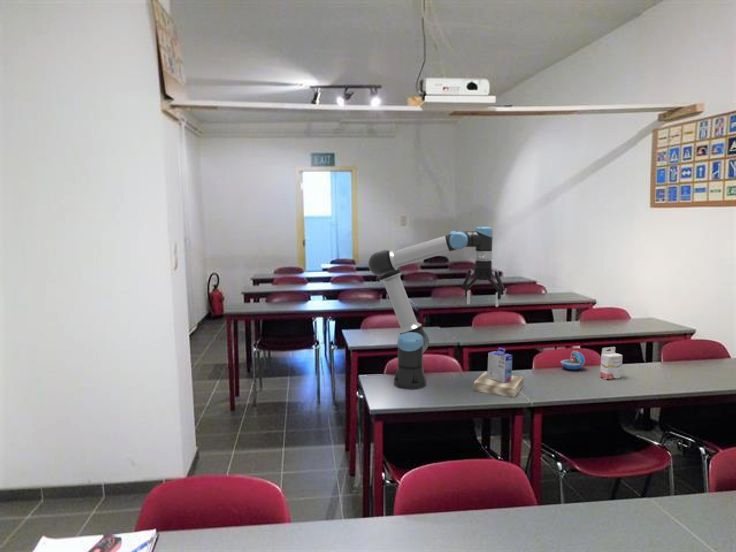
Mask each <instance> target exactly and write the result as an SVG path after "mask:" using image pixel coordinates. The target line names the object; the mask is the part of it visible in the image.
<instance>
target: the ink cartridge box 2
mask: <svg viewBox="0 0 736 552" xmlns="http://www.w3.org/2000/svg"><path fill="white" fill-rule="evenodd" d="M622 368H623V354H621V353H616V347H615V346H610V347H602V349H601V355H600V375H599V377H600V378H601V377H603V378H606V379H611V378H617V377H618V378H619V377H621V378H622V371H623V370H622ZM603 378H602V379H603ZM606 379H605V380H606Z"/></svg>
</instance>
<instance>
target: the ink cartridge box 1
mask: <svg viewBox="0 0 736 552" xmlns="http://www.w3.org/2000/svg"><path fill="white" fill-rule="evenodd" d="M506 350H507V349H506V348H503V347H498V349H497V351H496V350H495V351H490V352H488V354H487V355H488V357H487V372H488V374H487V378H489V379H493V380H496V381H499V382H502V383H506V382H510V381H511V379H512V375H513V373H512V371H513V354H509V353H505V352H506Z"/></svg>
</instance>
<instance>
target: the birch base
mask: <svg viewBox="0 0 736 552" xmlns="http://www.w3.org/2000/svg"><path fill="white" fill-rule="evenodd" d="M487 374H488V371H484V372H482V374H481V375H480V376H479V377H478V378H477V379H475V380H474V382H473V392H479V393H483V394H490V395H496V396H503V397H509V398H515V397H516V396H517V395H518V393H519V392H520V390H521V389H522V388H523V386H524V376H518V375H513V374H512V379H511V381H510V382H506V383H502V382H499V381H496V380H493V379H489V378H487Z"/></svg>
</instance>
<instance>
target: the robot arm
mask: <svg viewBox="0 0 736 552" xmlns="http://www.w3.org/2000/svg"><path fill="white" fill-rule="evenodd" d="M493 239H494V238H493V228H492V227H491V226H476V228H475V230H470V231H469V230H451V231H450V233H448V234H446V235H443V236H440V237H437V238H433V239H430V240H426V241H423V242H420V243H417V244H414V245H411V246H410V245H409V246H407V247H404V248H400V249H398V250H391V249H389V250H388V249H387V250H386V249H384V250H381V251H377V252H374V253H373V254H371V256H370V257H369V258H368V262H367V264H368V269H369V271H370V272H371V274H373V275H375V276H377V278H378V280H379V282H381V283H383V285H384V288H385V290H386V292H387V295H388V298H389V301H390V303H391V306H392V308H393V311H394V314H395V316H396V318H397V321H398V324H399V326H400V331H399V334H400V335H399V336H398V338H397V369H396V372H395V375H394V379H393V384H394V386H396V387H398V388H400V389H405V390H417V389H423V388H424V387H426V386H427V378H426V375H425V371H424V368H423V367H424V366H423V365H424V364H423V363H424V360H423V358H424V353H425V352H426V351H427V350H428V348H429V344H430V339H429V338H430V337H429V335H428V333H427V332H426V331H425V329H424V327H423V325H422V323H420V322H418V320H417V318H416V315H415V312H414V310H413V308H412V304H411V303H410V299H409V298H408V294H407V292H406V289H405V287H404V283H403V281H402V279H401V276H402V270H401V268H400V267H404V266H407V265H411V264H414V263H416V262H420V261H423V260H427V259H430V258H433V257H438V256H439V255H443V254H446V253H450V252H453V251H458V250H462V249H464V248H475V250H474V251H475V253H474V254H475V261H474V264H475V265H474V270H472V269H468V271H467V275H466V276H465V277H466V278H465V280H464V281H463V283H462V285H461V289H462V290H464V297H465V298H466V305H470V304H471V287H472V286H473V285H474V284H475V283H476V282H477V281H478V280H479V281H488V282H489V283H490V285H492V287H493V288H494V289H495V291H496V292H495V307H496V308H498V307H499V303H500V300H501V298H502V293H503V292H505V291H506V288H505V286H504V283H503V282H502V279H501V277H500V273H499V270H495V271H493V270H492V269H493V268H492V266H493V261H492V259H493ZM472 275H475V277H473V279H472V280H471V281H470V279H471V277H472ZM492 275H493V276H494V277H495V280H496V281H497V283H496V281H495V280H494V279H493V277H492ZM469 281H470V283H469ZM467 284H468V285H467Z"/></svg>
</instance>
